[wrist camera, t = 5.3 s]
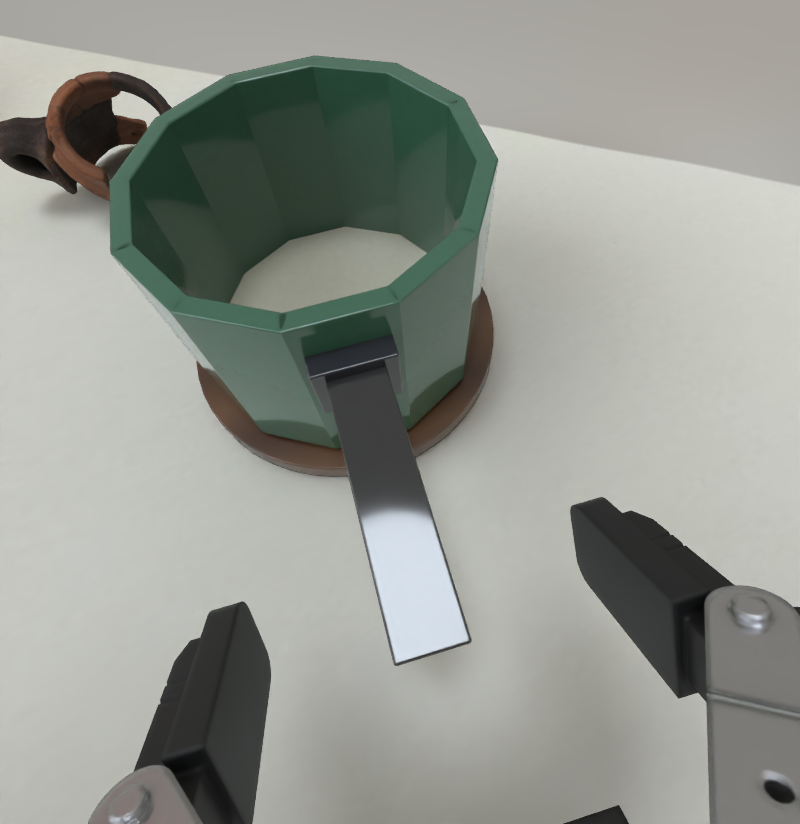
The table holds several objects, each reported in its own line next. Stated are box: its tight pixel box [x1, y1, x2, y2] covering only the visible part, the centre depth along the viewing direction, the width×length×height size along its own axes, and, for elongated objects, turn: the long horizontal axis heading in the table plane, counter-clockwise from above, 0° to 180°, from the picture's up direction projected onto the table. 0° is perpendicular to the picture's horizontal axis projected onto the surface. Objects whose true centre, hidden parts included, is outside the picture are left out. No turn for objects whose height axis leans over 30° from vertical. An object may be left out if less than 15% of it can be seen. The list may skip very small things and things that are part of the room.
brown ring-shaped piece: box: [0, 72, 171, 200], centre depth 34 cm, size 12×10×8 cm
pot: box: [109, 56, 498, 666], centre depth 21 cm, size 25×15×10 cm, turn 15°
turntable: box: [197, 286, 493, 476], centre depth 29 cm, size 17×17×1 cm
